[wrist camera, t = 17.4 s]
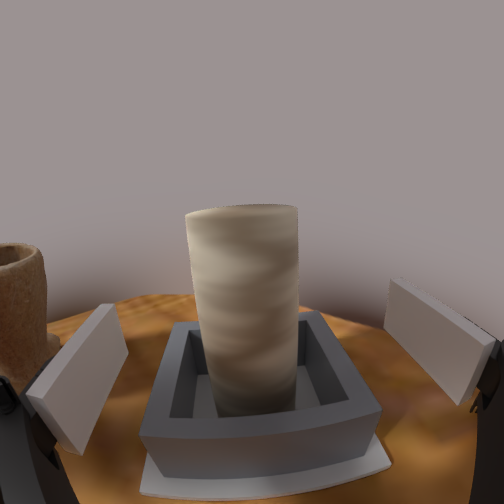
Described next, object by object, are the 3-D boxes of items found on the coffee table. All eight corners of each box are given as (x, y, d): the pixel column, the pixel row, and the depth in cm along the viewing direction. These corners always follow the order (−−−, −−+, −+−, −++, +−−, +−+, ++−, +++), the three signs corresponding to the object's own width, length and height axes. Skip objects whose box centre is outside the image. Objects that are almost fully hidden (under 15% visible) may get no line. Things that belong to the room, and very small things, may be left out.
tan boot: (84, 414, 17) (21, 247, 13) (-11, 426, 11) (-80, 276, 7) (80, 338, 30) (52, 226, 26) (10, 352, 23) (-23, 245, 20)
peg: (217, 441, 16) (175, 223, 12) (217, 388, 21) (192, 209, 17) (302, 432, 16) (311, 213, 12) (287, 381, 22) (284, 202, 18)
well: (142, 495, 11) (106, 451, 9) (173, 361, 26) (162, 315, 25) (389, 468, 12) (416, 418, 10) (324, 348, 27) (328, 301, 26)
